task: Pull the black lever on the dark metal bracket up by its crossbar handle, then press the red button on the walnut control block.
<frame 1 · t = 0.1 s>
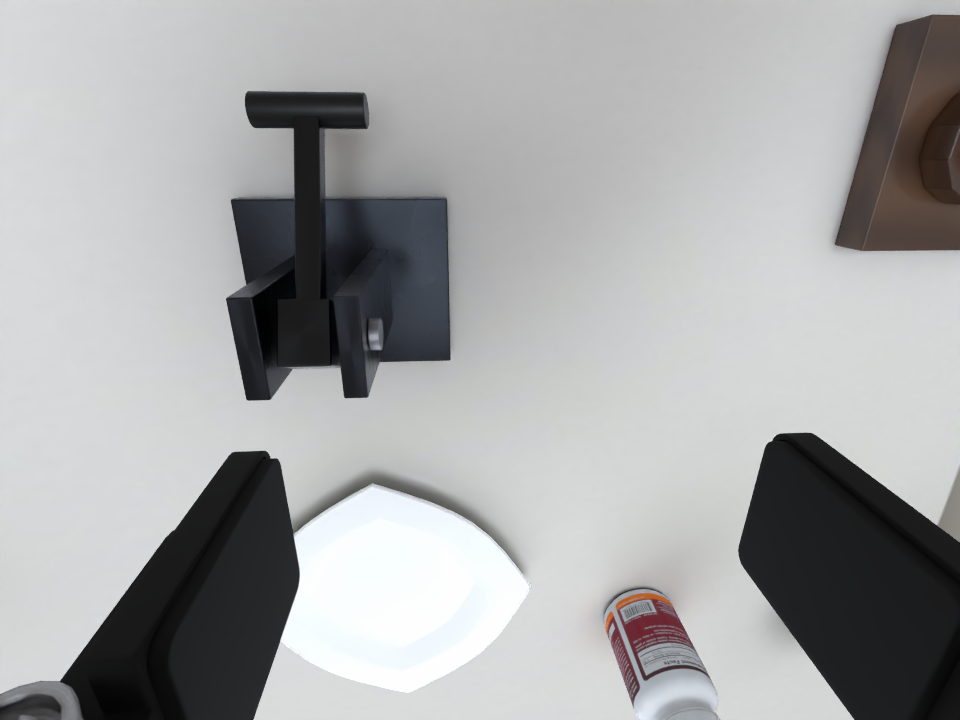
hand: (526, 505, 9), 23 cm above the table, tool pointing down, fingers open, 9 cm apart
bracket: (352, 281, 30), on the table
control block: (941, 144, 29), on the table
plate: (394, 579, 40), on the table
lever: (310, 229, 21), point 8 cm above the table, hinge at -25.0°
pill bottle: (635, 609, 43), on the table
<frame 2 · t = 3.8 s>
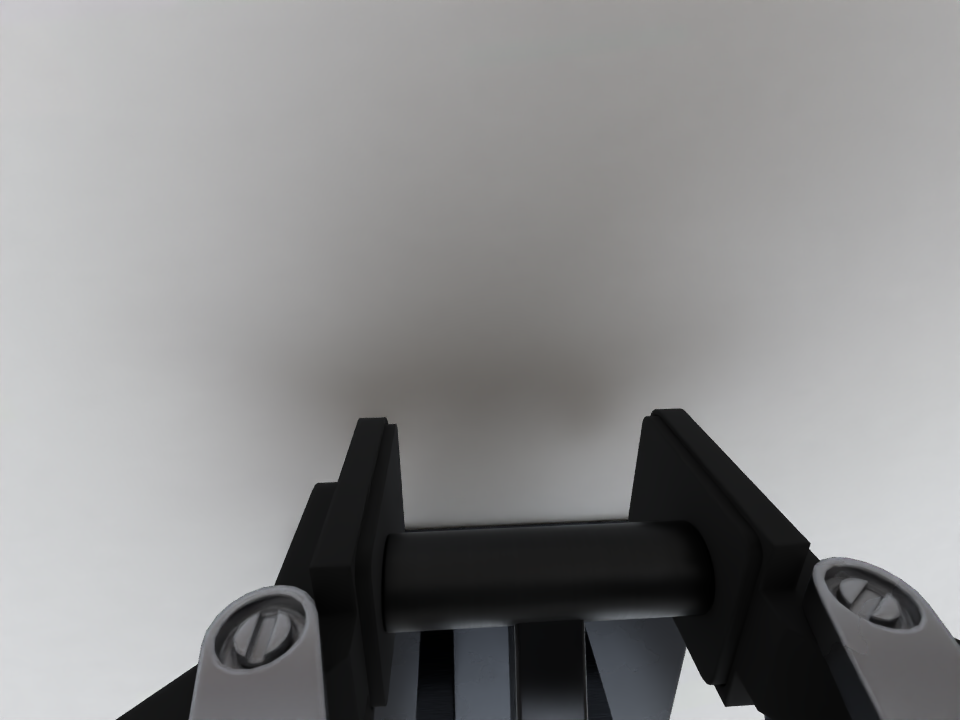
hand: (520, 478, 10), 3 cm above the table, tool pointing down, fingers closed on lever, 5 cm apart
bracket: (498, 640, 17), on the table
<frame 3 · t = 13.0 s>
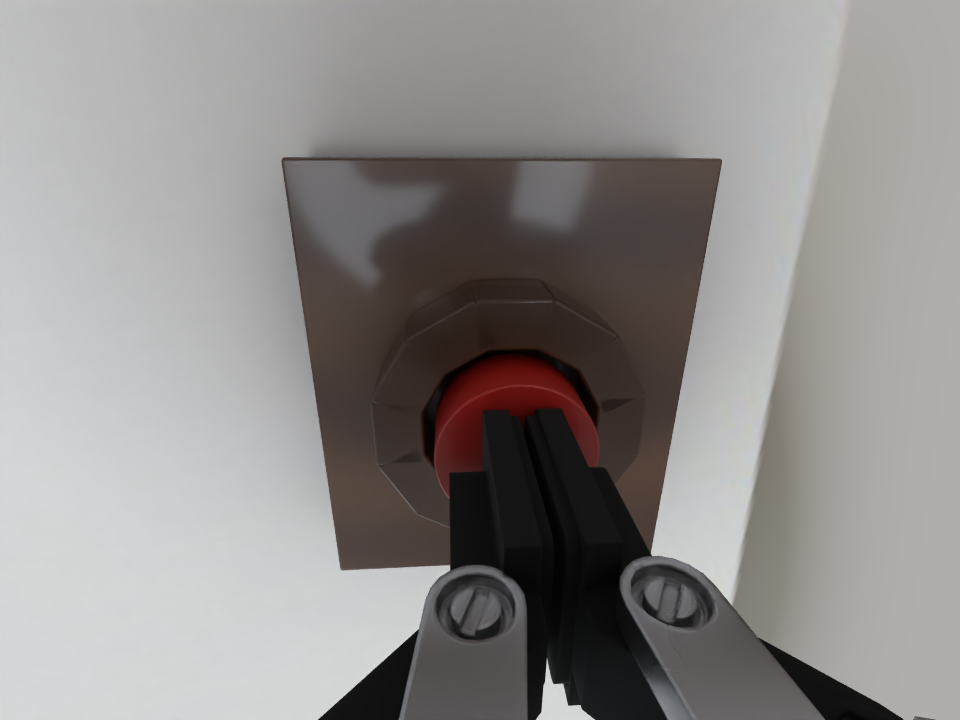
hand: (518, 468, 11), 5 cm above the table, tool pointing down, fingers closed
button: (512, 438, 11), point 4 cm above the table, slide at -0.1 cm, touching gripper
control block: (494, 364, 15), on the table
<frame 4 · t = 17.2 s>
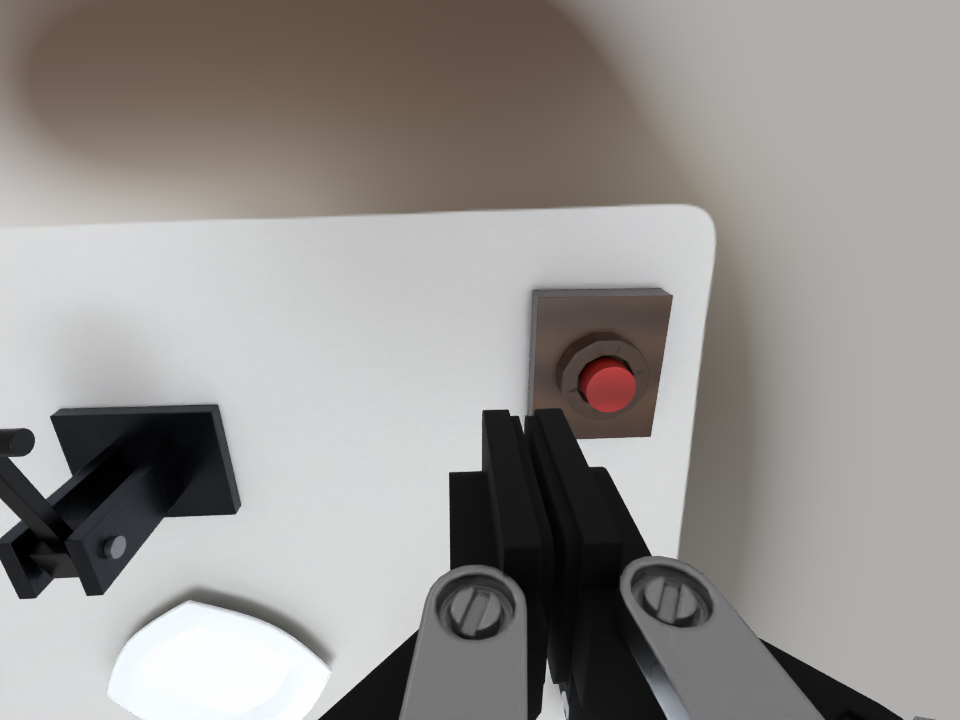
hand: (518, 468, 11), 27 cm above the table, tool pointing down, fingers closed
button: (607, 384, 35), point 4 cm above the table, slide at 0.1 cm
bracket: (156, 459, 40), on the table
control block: (590, 361, 40), on the table
plate: (228, 663, 50), on the table
lever: (30, 505, 28), point 11 cm above the table, hinge at 16.1°
beverage can: (586, 672, 54), on the table
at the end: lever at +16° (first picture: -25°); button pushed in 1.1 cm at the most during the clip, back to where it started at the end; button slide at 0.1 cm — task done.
